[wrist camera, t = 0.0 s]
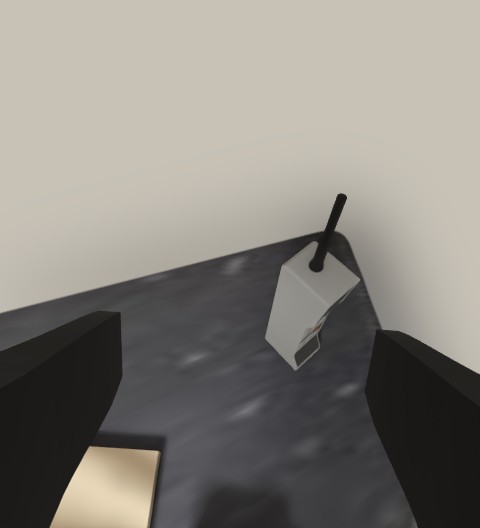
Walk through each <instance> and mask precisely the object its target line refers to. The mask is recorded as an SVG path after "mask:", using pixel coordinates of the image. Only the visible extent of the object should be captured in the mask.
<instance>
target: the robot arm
mask: <svg viewBox="0 0 480 528" xmlns="http://www.w3.org/2000/svg"><path fill="white" fill-rule="evenodd" d="M121 378H122V346H121V315H120V312H109V311H97V312H93V313H90V314H88V315H85V316H83V317H80V318H78V319H76V320H74V321H71V322H69V323H67V324H65V325H62V326H60V327H58V328H56V329H54V330H51V331H49V332H47V333H45V334H42V335H40V336H38V337H35V338H33V339H30V340H28V341H25V342H23V343H20V344H18V345H15V346H13V347H11V348H8V349H6V350H3V351H0V528H50V526H51V523H52V521H53V519H54V516H55V514H56V512H57V509H58V507H59V505H60V502H61V500H62V497H63V495H64V493H65V491H66V489H67V487H68V485H69V483H70V481H71V479H72V477H73V475H74V473H75V472H76V470H77V468H78V466H79V464H80V462H81V461H82V459H83V457H84V455H85V453H86V452H87V450H88V448H89V446H90V444H91V442H92V441H93V439H94V437H95V435H96V433H97V432H98V430H99V428H100V426H101V424H102V422H103V420H104V419H105V417H106V415H107V413H108V411H109V409H110V407H111V405H112V403H113V400H114V397H115V395H116V392H117V390H118V387H119V384H120V381H121ZM365 394H366V398H367V402H368V406H369V410H370V413H371V416H372V420H373V423H374V426H375V428H376V430H377V433H378V435H379V437H380V440H381V442H382V444H383V446H384V449H385V451H386V453H387V455H388V458H389V460H390V462H391V464H392V467H393V469H394V471H395V473H396V476H397V478H398V480H399V482H400V484H401V487H402V489H403V491H404V493H405V496H406V498H407V500H408V503H409V505H410V508H411V510H412V513H413V515H414V518H415V520H416V523H417V526H418V528H480V374H478V373H476V372H474V371H472V370H470V369H469V368H467V367H465V366H463V365H461V364H459V363H458V362H456V361H454V360H452V359H450V358H449V357H447V356H445V355H443V354H442V353H440V352H438V351H436V350H435V349H433V348H431V347H429V346H427V345H426V344H424V343H422V342H421V341H419V340H417V339H415V338H413V337H411V336H409V335H407V334H405V333H402V332H400V331H391V330H376V335H375V341H374V346H373V351H372V357H371V362H370V367H369V373H368V378H367V384H366V389H365Z"/></svg>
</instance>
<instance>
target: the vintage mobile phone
mask: <svg viewBox="0 0 480 528" xmlns="http://www.w3.org/2000/svg"><path fill="white" fill-rule="evenodd" d="M346 199H347V196H346V195H344V194H338V195H337V198H336V201H335V204H334V206H333V209H332V212H331V215H330V218H329V220H328V223H327V226H326V228H325V231H324V234H323V236H322V237H321V239H320V240H319V243H317V242H316V241H313V242H312V243H310V244H309V245H308V246H306V247H305V248H304V249H303V250H301V251H300V252H299V253H297V254H296V255H295V256H294V257H292V258H291V259H290V260H288V261H287V262H286V263H285V264H283V265H282V268H281V272H280V276H279V280H278V285H277V289H276V293H275V298H274V302H273V306H272V311H271V315H270V319H269V323H268V328H267V332H266V336H265V339H266V340H267V341H268V342H269V343H270V344H271V345H272V346H273V348H274V349H275V350H276V351H277V352H278V353H279V354H280V355H281V356H282V357H283V358H284V359H285V360H286V361H287V362H288V363H289V364H290V365H291V366H292V367H293V369H294V370H297V369H298V368H299V367H301V366H302V365H303V364H304V363H305V362H306V361H307V360H308V359H309V358H310V357H311V356H312V355H313V354H314V353H316V352H317V351H318V350H319V348H320V344H319V339H318V335H317V334H318V332H319V330H320V328H321V327H322V325H323V323H324V321H325V319H326V317H327V315H328V313H329V312H330V311H331V310H332V309H333V308H334V307H335V306H337V305H338V304H339V303H341V302H342V301H343V300H344V299H345V297H346V296H347V295H348V294H349V293H350V291H351V290H352V289H353V288H354V287H355V286H356V284H357V283H358V282H359V281H360V279H359V278H358V277H357V276H356V275H355V274H353V273H352V272H351V271H350V270H349V269H348V268H346V267H345V266H344V265H343V264H342V263H341V262H339V261H338V260H337V259H336V258H335V257H334V256H332V255H331V254H330V253H329V252H328V250H329V247H330V244H331V237H332V235H333V232H334V230H335V227H336V225H337V222H338V219H339V217H340V214H341V212H342V210H343V207H344V204H345V202H346Z"/></svg>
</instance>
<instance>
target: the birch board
mask: <svg viewBox="0 0 480 528" xmlns="http://www.w3.org/2000/svg"><path fill="white" fill-rule="evenodd" d="M160 455H161V453H160V452H159V451H150V450H135V449H121V448H106V447H91V446H89V448H88V450H87V452H86V453H85V455H84V457H83V459H82V461H81V462H80V464H79V466H78V468H77V470H76V472H75V473H74V475H73V477H72V479H71V481H70V483H69V485H68V487H67V489H66V491H65V493H64V495H63V497H62V500H61V502H60V505H59V507H58V509H57V512H56V514H55V516H54V519H53V521H52V523H51V526H50V528H150V522H151V515H152V509H153V502H154V495H155V489H156V482H157V475H158V468H159V462H160Z"/></svg>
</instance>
